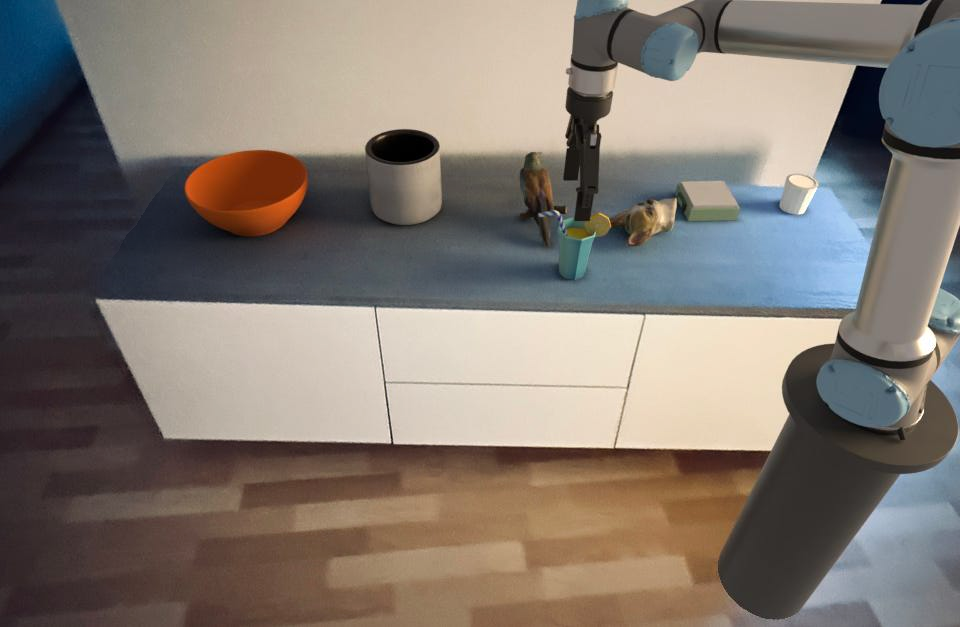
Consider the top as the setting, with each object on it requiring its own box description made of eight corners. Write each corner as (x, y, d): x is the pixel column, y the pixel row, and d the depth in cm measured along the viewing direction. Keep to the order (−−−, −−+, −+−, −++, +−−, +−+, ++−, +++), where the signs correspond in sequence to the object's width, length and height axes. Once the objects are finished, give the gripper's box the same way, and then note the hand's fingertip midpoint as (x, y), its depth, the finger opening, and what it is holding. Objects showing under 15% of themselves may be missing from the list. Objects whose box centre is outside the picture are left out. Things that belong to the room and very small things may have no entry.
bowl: (336, 221, 148) (330, 181, 142) (230, 268, 136) (218, 226, 129) (278, 176, 162) (270, 138, 155) (177, 215, 149) (163, 175, 143)
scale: (736, 220, 150) (741, 205, 148) (684, 221, 150) (688, 206, 147) (721, 193, 158) (725, 179, 156) (671, 194, 158) (675, 180, 155)
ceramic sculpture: (693, 204, 139) (631, 224, 135) (686, 238, 144) (626, 258, 140) (662, 179, 146) (602, 198, 142) (657, 212, 152) (599, 231, 148)
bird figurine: (575, 245, 141) (571, 147, 137) (528, 248, 140) (523, 150, 137) (561, 240, 154) (557, 150, 150) (518, 243, 153) (513, 153, 150)
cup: (536, 286, 132) (542, 222, 122) (530, 262, 138) (535, 199, 128) (606, 282, 133) (617, 218, 123) (597, 258, 139) (607, 196, 129)
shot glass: (800, 199, 157) (810, 172, 152) (813, 215, 152) (824, 188, 147) (771, 199, 157) (781, 173, 152) (783, 216, 151) (793, 189, 147)
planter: (456, 209, 152) (456, 147, 142) (400, 237, 144) (394, 173, 134) (413, 181, 161) (409, 120, 150) (357, 206, 153) (349, 143, 142)
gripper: (557, 58, 119) (547, 164, 133) (579, 124, 101) (565, 239, 115) (599, 58, 119) (584, 164, 134) (629, 123, 101) (609, 238, 115)
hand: (575, 199), depth 124 cm, fingers open, 13 cm apart
